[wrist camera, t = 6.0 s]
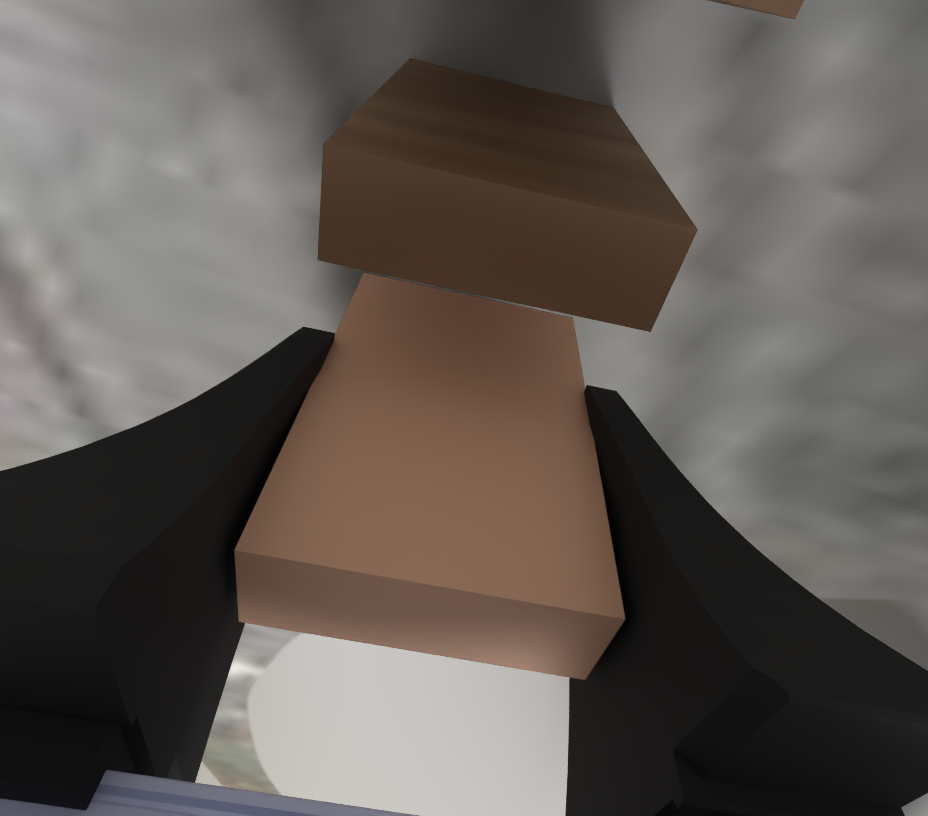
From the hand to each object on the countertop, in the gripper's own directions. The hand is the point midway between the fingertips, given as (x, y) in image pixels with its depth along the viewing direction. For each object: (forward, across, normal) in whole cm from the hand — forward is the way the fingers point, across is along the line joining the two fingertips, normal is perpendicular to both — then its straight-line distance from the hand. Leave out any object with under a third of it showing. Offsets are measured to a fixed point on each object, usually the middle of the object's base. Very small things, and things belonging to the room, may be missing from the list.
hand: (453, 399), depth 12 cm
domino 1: (+6, 0, -4) cm, 8 cm away
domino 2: (+3, 0, 0) cm, 3 cm away
